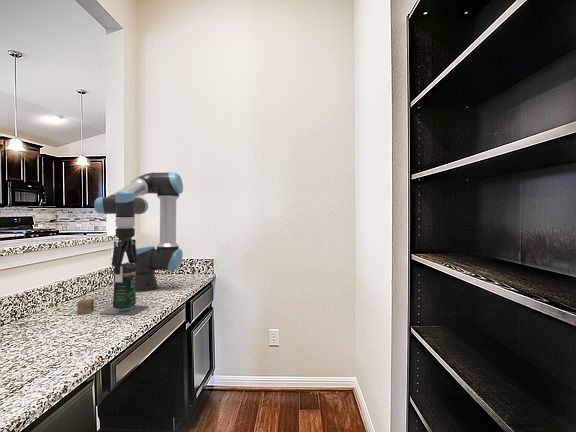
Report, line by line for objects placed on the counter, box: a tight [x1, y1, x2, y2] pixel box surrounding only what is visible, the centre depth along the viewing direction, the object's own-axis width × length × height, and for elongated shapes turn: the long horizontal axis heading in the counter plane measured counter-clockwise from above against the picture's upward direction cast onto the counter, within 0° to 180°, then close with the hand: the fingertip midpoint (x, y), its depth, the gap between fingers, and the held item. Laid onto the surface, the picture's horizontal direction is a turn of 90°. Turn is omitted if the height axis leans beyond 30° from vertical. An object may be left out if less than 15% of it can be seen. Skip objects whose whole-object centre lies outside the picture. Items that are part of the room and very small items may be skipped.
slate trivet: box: [99, 305, 150, 316], centre depth 156 cm, size 13×15×1 cm
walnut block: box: [76, 298, 95, 316], centre depth 154 cm, size 5×5×5 cm
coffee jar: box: [112, 262, 137, 309], centre depth 156 cm, size 10×8×19 cm
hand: (125, 279), depth 156 cm, fingers closed on coffee jar, 9 cm apart
